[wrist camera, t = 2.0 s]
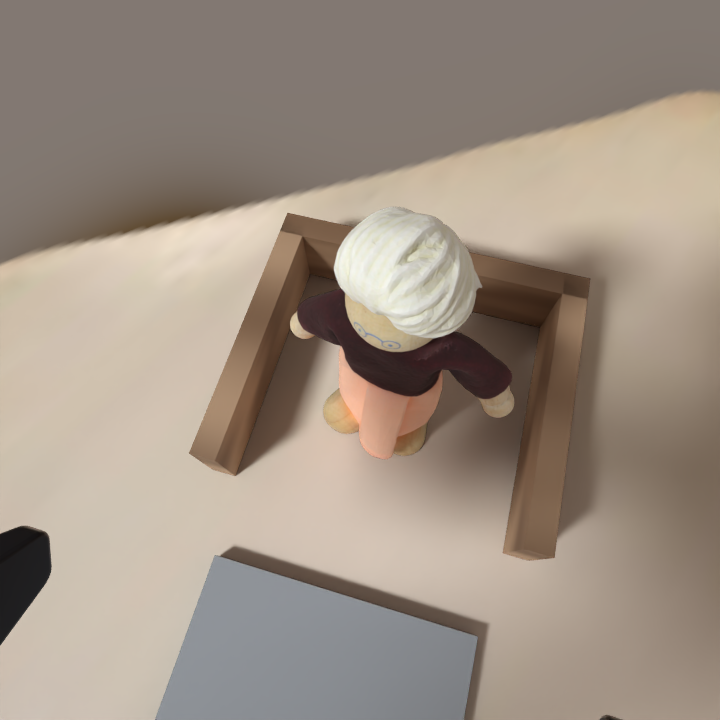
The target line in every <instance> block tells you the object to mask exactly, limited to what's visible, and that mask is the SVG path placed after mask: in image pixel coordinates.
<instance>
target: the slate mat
mask: <svg viewBox="0 0 720 720" xmlns="http://www.w3.org/2000/svg"><path fill="white" fill-rule="evenodd" d="M477 640H478V637H477V636H476V635H473V634H470V633H466V632H463V631H460V630H457V629H453V628H450V627H447V626H444V625H441V624H437V623H434V622H431V621H428V620H424V619H421V618H418V617H415V616H412V615H408V614H405V613H402V612H399V611H395V610H392V609H389V608H386V607H383V606H379V605H376V604H373V603H370V602H366V601H363V600H360V599H357V598H354V597H350V596H347V595H344V594H341V593H337V592H334V591H331V590H328V589H325V588H321V587H318V586H315V585H312V584H308V583H305V582H302V581H299V580H296V579H292V578H289V577H286V576H283V575H279V574H276V573H273V572H270V571H267V570H263V569H260V568H257V567H254V566H250V565H247V564H244V563H241V562H238V561H234V560H231V559H228V558H225V557H221V556H217V555H215V556H214V559H213V562H212V564H211V567H210V570H209V573H208V575H207V578H206V581H205V584H204V586H203V589H202V592H201V595H200V597H199V600H198V603H197V606H196V608H195V611H194V614H193V617H192V619H191V622H190V625H189V628H188V630H187V633H186V636H185V639H184V642H183V644H182V647H181V650H180V653H179V655H178V658H177V661H176V664H175V666H174V669H173V672H172V675H171V677H170V680H169V683H168V686H167V688H166V691H165V694H164V697H163V699H162V702H161V705H160V708H159V710H158V713H157V716H156V719H155V720H464V716H465V710H466V704H467V698H468V692H469V686H470V681H471V675H472V669H473V663H474V657H475V651H476V646H477Z"/></svg>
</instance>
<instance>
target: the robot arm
mask: <svg viewBox="0 0 720 720" xmlns="http://www.w3.org/2000/svg"><path fill="white" fill-rule="evenodd" d="M51 567H52V566H51V552H50V539H49V536H48V534H47V533H46V532H45V531H42V530H39V529H36V528H33V527H30V526H20V527H17V528H14V529H11V530H9V531H6V532H4V533H1V534H0V645H1V644H2V643H3V641H4V640H5V638H6V637H7V636H8V634H9V633H10V632H11V630H12V629H13V627H14V626H15V625H16V623H17V622H18V621H19V619H20V618H21V617H22V615H23V614H24V612H25V611H26V610H27V608H28V607H29V606H30V604H31V603H32V602H33V600H34V599H35V597H36V596H37V595H38V593H39V592H40V591H41V589H42V588H43V587H44V585H45V584H46V582H47V580H48V578H49V576H50V573H51ZM600 720H622V719H619V718H616V717H613V716H610V715H605V716H602V717H601V718H600Z"/></svg>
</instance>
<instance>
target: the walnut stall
mask: <svg viewBox="0 0 720 720" xmlns="http://www.w3.org/2000/svg"><path fill="white" fill-rule="evenodd" d="M354 228H355V227H350V226H346V225H341V224H337V223H332V222H327V221H323V220H318V219H314V218H309V217H304V216H300V215H295V214H290V213H287V216H286V218H285V220H284V223H283V225H282V228H281V230H280V233H279V235H278V238H277V240H276V242H275V245H274V247H273V250H272V252H271V255H270V257H269V259H268V262H267V264H266V267H265V269H264V272H263V274H262V277H261V279H260V281H259V284H258V286H257V289H256V291H255V294H254V296H253V299H252V301H251V303H250V306H249V308H248V311H247V313H246V316H245V318H244V320H243V323H242V325H241V328H240V330H239V333H238V335H237V338H236V340H235V342H234V345H233V347H232V350H231V352H230V355H229V357H228V359H227V362H226V364H225V367H224V369H223V372H222V374H221V377H220V379H219V381H218V384H217V386H216V389H215V391H214V394H213V396H212V399H211V401H210V403H209V406H208V408H207V411H206V413H205V416H204V418H203V420H202V423H201V425H200V428H199V430H198V433H197V435H196V438H195V440H194V442H193V445H192V447H191V450H190V452H189V454H191V455H192V456H194V457H195V458H197V459H198V460H200V461H201V462H203V463H204V464H205V465H207V466H208V467H210V468H211V469H213V470H216V471H220V472H223V473H227V474H230V475H234V476H236V473H237V470H238V468H239V465H240V462H241V460H242V457H243V454H244V451H245V449H246V446H247V443H248V441H249V438H250V435H251V432H252V430H253V427H254V424H255V422H256V419H257V416H258V413H259V411H260V408H261V405H262V403H263V400H264V397H265V395H266V392H267V389H268V386H269V384H270V381H271V378H272V376H273V373H274V370H275V367H276V365H277V362H278V359H279V357H280V354H281V351H282V348H283V346H284V343H285V340H286V338H287V335H288V332H289V330H290V320H291V318H292V316H293V315H294V314H295V313H296V311H297V308H298V305H299V302H300V300H301V297H302V294H303V292H304V289H305V286H306V283H307V281H308V278H309V275H310V274H312V275H317V276H321V277H325V278H330V279H334V280H337V278H336V276H335V272H334V265H335V260H336V256H337V252H338V250H339V247H340V246H341V244H342V242H343V241H344V239H345V238H346V236H347V235H348V234H349V233H350V232H351V231H352V230H353V229H354ZM469 254H470V256H471V259H472V262H473V266H474V270H475V272H476V274H477V276H478V278H479V280H480V283H481V285H482V288H478V289H477V290H476V298H475V304H474V307H473V310H472V312H477V313H481V314H485V315H489V316H494V317H498V318H502V319H507V320H511V321H515V322H520V323H524V324H528V325H533V326H537V327H540V330H539V336H538V342H537V348H536V355H535V361H534V367H533V373H532V379H531V385H530V391H529V397H528V403H527V409H526V415H525V421H524V428H523V434H522V440H521V446H520V452H519V458H518V464H517V470H516V476H515V482H514V488H513V494H512V501H511V507H510V513H509V519H508V525H507V531H506V537H505V543H504V549H503V553H504V554H508V555H511V556H515V557H518V558H522V559H525V560H529V561H530V560H539V559H548V558H554V557H555V550H556V542H557V534H558V526H559V518H560V511H561V503H562V495H563V487H564V479H565V472H566V464H567V456H568V448H569V440H570V433H571V425H572V417H573V409H574V402H575V394H576V386H577V378H578V370H579V363H580V355H581V347H582V339H583V331H584V324H585V316H586V308H587V300H588V292H589V285H590V278H585V277H581V276H576V275H572V274H567V273H562V272H558V271H553V270H548V269H544V268H539V267H535V266H530V265H525V264H521V263H516V262H512V261H507V260H502V259H498V258H493V257H489V256H484V255H479V254H475V253H470V252H469Z"/></svg>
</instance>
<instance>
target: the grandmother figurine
mask: <svg viewBox="0 0 720 720" xmlns="http://www.w3.org/2000/svg"><path fill="white" fill-rule="evenodd" d="M334 272H335V276H336V278H337V281H338V284H339V286H340V287H341V289H339V290H334V291H331V292H327V293H324V294H321V295H317V296H314V297H310V298H308V299H306V300H304V301H303V302H302V303H301V304H300V305H299V307H298V309H297V312H296V313H295V314H294V315H293V316H292V318H291V320H290V327H291V330H292V332H293V333H294V334H295V335H296V336H297V337H299V338H302V339H308V338H311V337H313V336H315V335H316V336H318V337H319V338H322V339H324V340H326V341H328V342H331V343H333V344H336V345H340V352H339V389H338V390H337V391H335V392H334V393H333V394H332V395H331V396H330V397H329V398H328V399H327V400H326V402H325V404H324V409H323V413H324V418H325V420H326V421H327V423H328V424H329V425H330V426H331V427H332V428H333V429H335V430H336V431H338V432H340V433H345V434H350V433H355V432H357V431H359V437H360V442H361V445H362V446H363V447H364V449H365V450H366V451H367V452H368V453H369V454H370V455H372V456H374V457H377V458H381V459H388V458H390V457H391V456H392V454H393V453H394V454H397V455H402V456H407V455H411V454H414V453H416V452H417V451H418V450H419V449H420V448H421V447H422V445H423V443H424V441H425V435H426V429H427V422H428V420H429V419H430V417H431V415H432V414H433V412H434V411H435V409H436V407H437V405H438V402H439V398H440V395H441V392H442V384H443V372H442V370H449V371H450V372H451V373H452V375H453V376H454V377H455V378H456V379H457V381H458V382H459V383H460V384H462V385H463V386H464V387H465V388H466V389H467V390H468V391H470V392H471V393H473V394H474V395H475V396H476V397H477V398H478V399H479V400H480V401H481V405H482V407H483V409H484V411H485V412H486V413H487V414H488V415H489V416H491V417H496V418H500V417H504V416H506V415H508V414H509V413H510V412H511V411H512V409H513V408H514V397H513V395H512V393H511V391H510V387H509V385H510V383H511V381H512V373H511V371H510V370H509V369H508V367H507V366H506V365H505V364H504V363H503V362H501V361H500V360H499V359H497V358H496V357H494V356H493V355H492V354H491V353H489V352H488V351H487V350H486V349H485V348H483V347H482V346H481V345H480V344H478V343H477V342H475V341H474V340H472V339H470V338H469V337H467V336H465V335H463V334H461V333H458V332H454V331H455V330H456V329H458V328H459V327H460V326H461V325H462V324H463V323H464V322H465V321H466V320H467V319H468V317H469V316H470V314H471V312H472V310H473V307H474V304H475V298H476V290H477V289H478V288H482V285H481V283H480V280H479V278H478V276H477V274H476V272H475V270H474V266H473V262H472V259H471V256H470V254H469V252H468V250H467V248H466V246H465V245H464V244H463V243H462V242H461V240H460V239H459V238H458V236H457V235H456V233H455V232H454V231H453V230H452V229H451V228H450V227H448V226H447V225H445V224H443V222H442V221H441V220H439V219H438V218H436V217H433V216H430V215H425V214H419V213H414V212H413V211H411V210H408V209H405V208H401V207H388V208H384V209H381V210H379V211H377V212H375V213H373V214H371V215H369V216H368V217H367V218H365V219H364V220H363V221H362V222H360V223H359V224H358V225H357V226H356V227H355V228H354V229H353V230H352V231H351V232H350V233H349V234H348V235H347V236H346V238H345V239H344V241H343V242H342V244H341V246H340V247H339V250H338V252H337V256H336V260H335V265H334Z"/></svg>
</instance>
